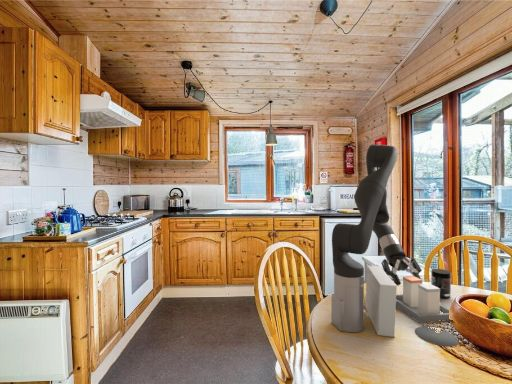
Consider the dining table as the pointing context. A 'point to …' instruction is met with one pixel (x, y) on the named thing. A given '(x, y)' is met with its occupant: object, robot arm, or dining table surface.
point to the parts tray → (417, 316)
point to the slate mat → (436, 336)
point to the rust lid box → (411, 290)
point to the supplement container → (442, 282)
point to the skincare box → (381, 300)
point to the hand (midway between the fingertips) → (409, 284)
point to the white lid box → (428, 299)
